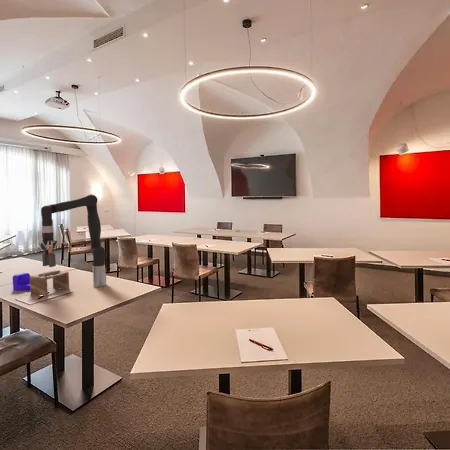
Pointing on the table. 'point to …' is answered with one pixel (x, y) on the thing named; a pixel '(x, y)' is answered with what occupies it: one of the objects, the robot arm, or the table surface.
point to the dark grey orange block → (49, 258)
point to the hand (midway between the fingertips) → (48, 254)
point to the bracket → (21, 282)
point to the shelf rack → (40, 282)
